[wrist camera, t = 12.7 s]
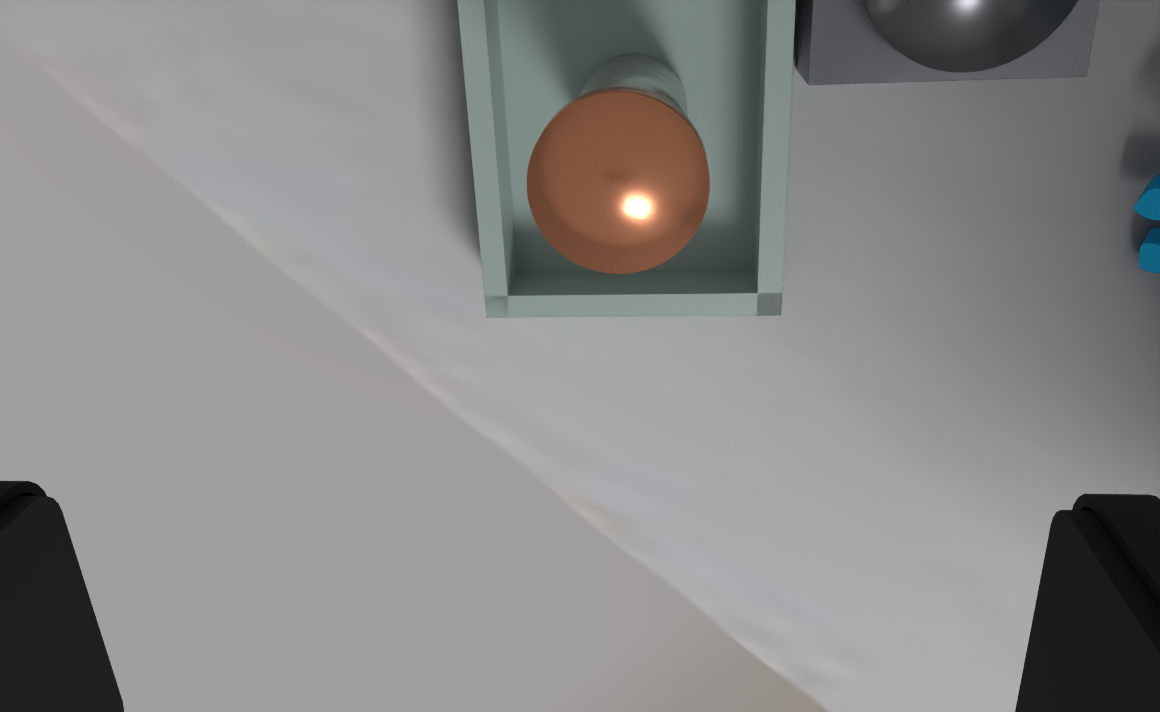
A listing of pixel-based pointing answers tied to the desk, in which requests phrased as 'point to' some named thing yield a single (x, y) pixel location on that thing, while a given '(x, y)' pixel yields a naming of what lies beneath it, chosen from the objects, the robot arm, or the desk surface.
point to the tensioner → (943, 40)
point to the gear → (1156, 249)
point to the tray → (715, 108)
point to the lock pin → (620, 169)
